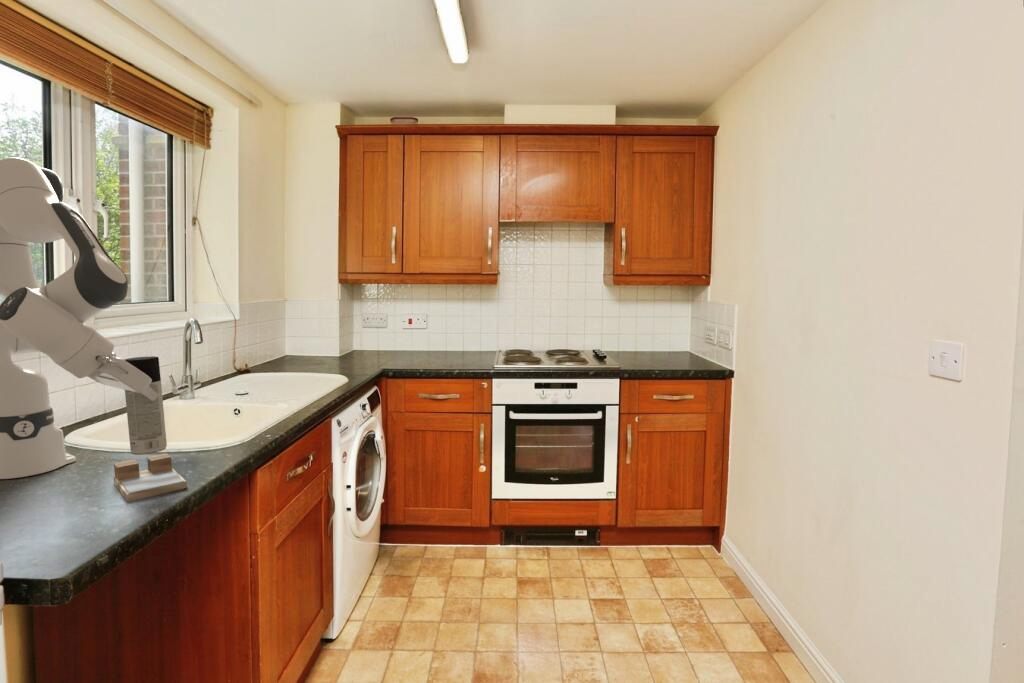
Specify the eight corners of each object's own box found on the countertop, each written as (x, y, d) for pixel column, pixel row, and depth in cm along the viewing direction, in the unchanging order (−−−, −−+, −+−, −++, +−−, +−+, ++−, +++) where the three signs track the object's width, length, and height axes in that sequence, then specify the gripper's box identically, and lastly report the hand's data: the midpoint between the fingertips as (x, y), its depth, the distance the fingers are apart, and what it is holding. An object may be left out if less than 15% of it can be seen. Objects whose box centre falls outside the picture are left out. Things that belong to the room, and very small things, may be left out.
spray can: (173, 446, 130) (165, 355, 128) (156, 454, 123) (147, 359, 121) (142, 447, 129) (134, 356, 128) (123, 456, 123) (114, 360, 121)
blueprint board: (114, 483, 131) (112, 463, 131) (169, 471, 139) (168, 452, 138) (127, 501, 120) (125, 480, 120) (187, 487, 128) (185, 467, 127)
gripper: (120, 346, 112) (179, 388, 121) (83, 340, 125) (138, 379, 133) (95, 372, 109) (157, 414, 118) (59, 364, 121) (118, 402, 130)
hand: (147, 395), depth 126 cm, fingers closed on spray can, 7 cm apart
